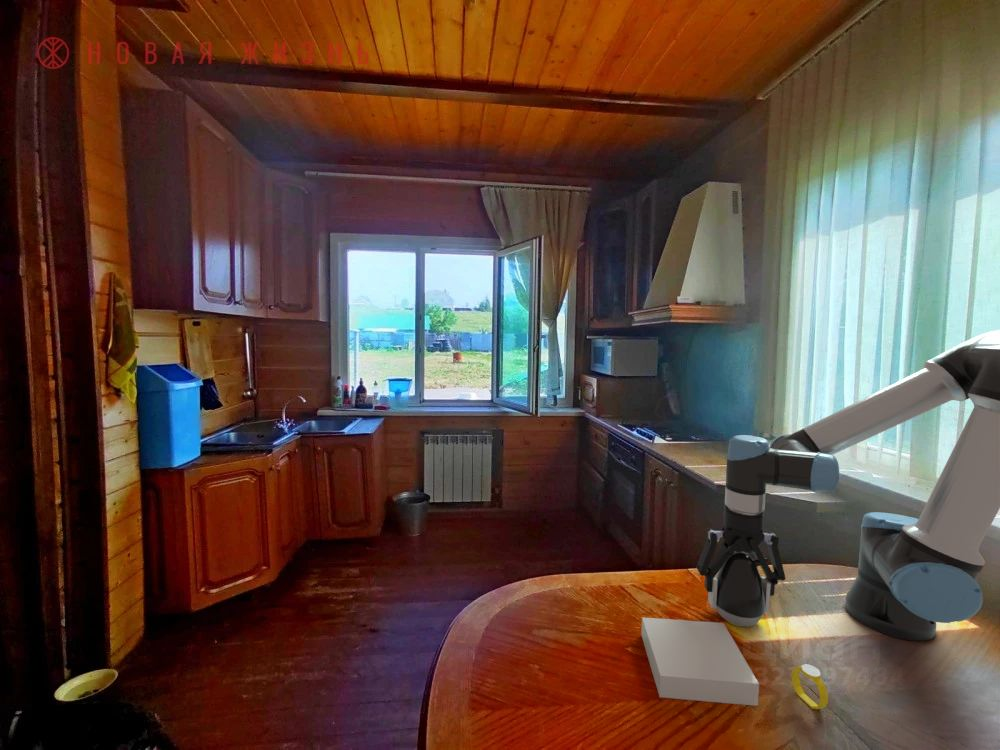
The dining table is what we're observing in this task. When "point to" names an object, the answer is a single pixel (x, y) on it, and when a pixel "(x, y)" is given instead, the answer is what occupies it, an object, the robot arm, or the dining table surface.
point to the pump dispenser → (740, 590)
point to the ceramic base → (698, 662)
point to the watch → (815, 675)
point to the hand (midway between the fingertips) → (737, 606)
